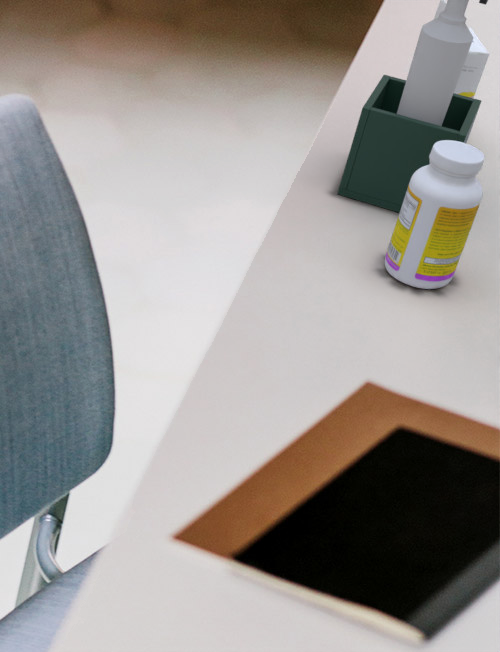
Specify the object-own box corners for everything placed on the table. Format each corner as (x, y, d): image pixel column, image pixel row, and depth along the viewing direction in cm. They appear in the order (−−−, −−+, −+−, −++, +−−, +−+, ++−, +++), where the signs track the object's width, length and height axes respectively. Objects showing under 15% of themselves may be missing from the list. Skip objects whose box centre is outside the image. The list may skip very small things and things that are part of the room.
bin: (451, 184, 132) (481, 100, 126) (435, 223, 124) (466, 135, 118) (358, 157, 135) (383, 74, 128) (337, 194, 127) (362, 107, 121)
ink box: (457, 152, 139) (502, 27, 129) (415, 148, 138) (457, 21, 129) (440, 121, 145) (481, -1, 136) (400, 116, 145) (439, -6, 136)
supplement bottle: (462, 276, 116) (509, 155, 108) (430, 299, 112) (476, 175, 104) (402, 248, 119) (443, 128, 111) (369, 269, 115) (409, 147, 107)
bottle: (386, 194, 126) (464, -48, 110) (366, 171, 130) (439, -66, 114) (430, 194, 127) (514, -45, 112) (409, 172, 131) (487, -63, 115)
